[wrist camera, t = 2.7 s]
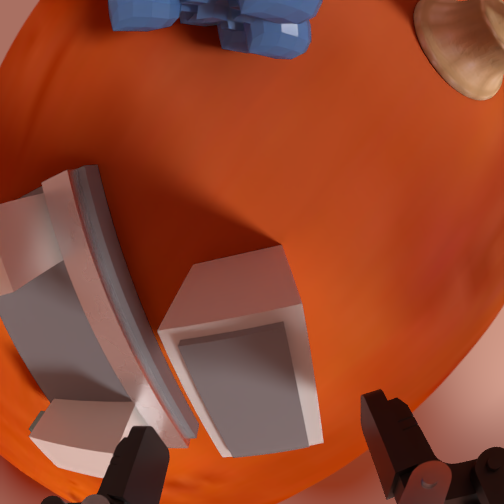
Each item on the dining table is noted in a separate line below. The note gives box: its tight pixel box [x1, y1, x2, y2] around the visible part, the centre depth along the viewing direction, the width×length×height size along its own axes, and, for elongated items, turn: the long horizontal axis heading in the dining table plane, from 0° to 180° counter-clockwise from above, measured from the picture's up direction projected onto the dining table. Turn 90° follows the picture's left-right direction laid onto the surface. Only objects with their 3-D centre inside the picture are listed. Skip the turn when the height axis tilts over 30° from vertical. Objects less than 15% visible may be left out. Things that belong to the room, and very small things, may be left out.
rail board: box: [0, 165, 199, 478], centre depth 15 cm, size 20×13×6 cm, turn 13°
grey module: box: [157, 245, 323, 458], centre depth 14 cm, size 8×5×7 cm, turn 13°
